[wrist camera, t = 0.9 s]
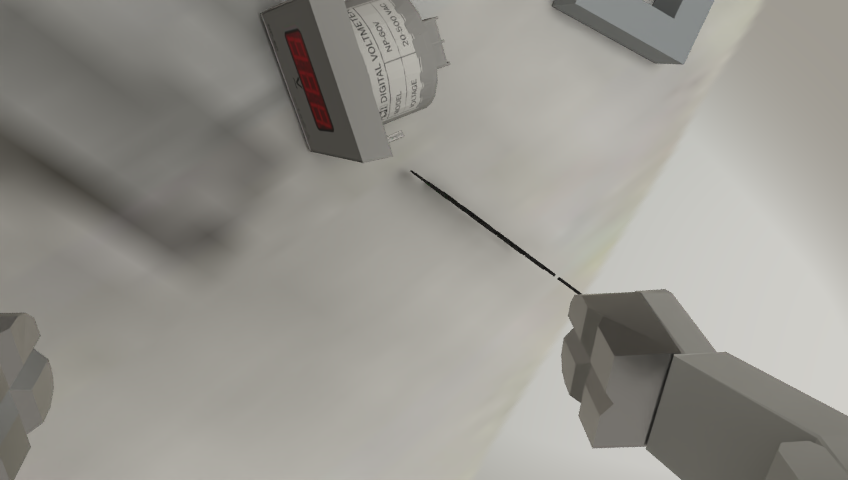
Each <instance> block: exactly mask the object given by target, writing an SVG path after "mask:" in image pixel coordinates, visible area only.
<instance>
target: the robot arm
mask: <svg viewBox="0 0 848 480" xmlns="http://www.w3.org/2000/svg"><path fill="white" fill-rule="evenodd" d="M568 317H569V319H570V321H571V323H572V325H573V327H574V328H573V329H572V330H571V331H570V332H569V333H568V334H567V335H566V336H565V337H564V341H563V347H562V354H561V358H562V373H563V377H564V381H565V385H566V387H567V390H568V392H569V395H570V396H572V397H573V398H575V399H576V400H577V401H579V402H580V403H581V406H580V411H579V418H580V421H581V423H582V425H583V427H584V430H585V432H586V434H587V437H588V439H589V441H590V443H591V446H592V447H593V448H614V447H644V446H646V450H648V451H649V452H650V453H651V454H652V455H653V456H655V457H656V458H657V459H658V460H659V461H660V462H662V463H663V464H664V465H665V466H666V467H667V468H669V469H670V470H671V471H672V472H673V473H674V474H676V475H677V476H678V477H679V478H680V479H681V480H848V416H847V415H844V414H843V413H841V412H839V411H837V410H835V409H833V408H831V407H830V406H827V405H826V404H824V403H821V402H820V401H818V400H816V399H814V398H812V397H811V396H809V395H807V394H805V393H803V392H801V391H799V390H797V389H795V388H793V387H791V386H790V385H788V384H786V383H784V382H782V381H780V380H778V379H776V378H774V377H773V376H771V375H769V374H767V373H765V372H763V371H761V370H759V369H757V368H755V367H753V366H752V365H750V364H748V363H746V362H744V361H742V360H740V359H738V358H736V357H734V356H733V355H731V354H729V353H727V352H716V351H715V349H714V348H713V347H712V345H711V344H710V343H709V341H708V340H707V339H706V337H705V336H704V335H703V333H702V332H701V331H700V330H699V328H698V327H697V326H696V324H695V323H694V322H693V320H692V319H691V318H690V316H689V315H688V314H687V312H686V311H685V310H684V308H683V307H682V306H681V305H680V303H679V302H678V301H677V299H676V298H675V297H674V295H673V294H672V293H671V292H669V291H667V290H665V289H661V290H646V291H635V292H628V293H627V292H625V293H603V294H580V295H574V297H573V299H572V301H571V303H570V308H569V313H568ZM40 336H41V335H40V333H39V330H38V327H37V325H36V322H35V319H34V317H32V316H30V315H29V314H27V313H0V480H14V479H15V477H16V475H17V473H18V471H19V469H20V467H21V465H22V463H23V461H24V459H25V457H26V455H27V453H28V451H29V449H30V447H31V446H30V443H29V440H28V437H27V434H28V433H29V432H31V431H32V430H34V429H35V428H36V427H38V426H39V425H41V424H42V423H43V422H44V420H45V417H46V415H47V413H48V411H49V409H50V406H51V400H52V395H53V389H54V386H53V374H52V370H51V367H50V363H49V360H48V359H47V358H46V357H44V356H43V355H42V354H40V353H39V352H38V351H37V350H35V349H34V346H35V345H36V343H37V341H38V340H39V338H40Z"/></svg>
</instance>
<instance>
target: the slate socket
mask: <svg viewBox="0 0 848 480" xmlns="http://www.w3.org/2000/svg"><path fill="white" fill-rule="evenodd" d="M713 2H714V0H655V1H654V4H653V6H652V5H650V4H648V3H646V2H645V1H643V0H555V1H554V3H553V5H552V6H553V7H554V8H556V9H558V10H560V11H562V12H563V13H565V14H567V15H569V16H571V17H572V18H574V19H576V20H578V21H580V22H582V23H583V24H585V25H587V26H589V27H591V28H592V29H594V30H596V31H598V32H600V33H601V34H603V35H605V36H607V37H609V38H611V39H612V40H614V41H616V42H618V43H620V44H621V45H623V46H625V47H627V48H629V49H630V50H632V51H634V52H636V53H638V54H639V55H641V56H643V57H645V58H647V59H649V60H650V61H652V62H654V63H661V64H684V63H685V61H686V59H687V56H688V54H689V52H690V50H691V48H692V46H693V44H694V42H695V40H696V38H697V36H698V33H699V31H700V29H701V27H702V25H703V23H704V21H705V19H706V17H707V15H708V12H709V10H710V8H711V6H712V4H713Z"/></svg>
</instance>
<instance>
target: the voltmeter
mask: <svg viewBox="0 0 848 480" xmlns="http://www.w3.org/2000/svg"><path fill="white" fill-rule="evenodd" d="M260 14H261V17H262V19H263V22H264V25H265V28H266V31H267V33H268V36H269V39H270V42H271V44H272V47H273V50H274V53H275V56H276V58H277V61H278V64H279V67H280V69H281V72H282V75H283V78H284V80H285V83H286V86H287V89H288V92H289V94H290V97H291V100H292V103H293V105H294V108H295V111H296V114H297V117H298V119H299V122H300V125H301V128H302V130H303V133H304V136H305V139H306V142H307V144H308V147H309V150H310V151H311V152H316V153H320V154H325V155H330V156H334V157H339V158H343V159H348V160H352V161H357V162H361V163H365V162H369V161H374V160H379V159H383V158H388V157H392V156H393V154H392V151H391V148H390V145H389V142H391V141H395V140H397V139H399V138H402V137H403V136H404V135H403V132H402V130H401V131H399V132H396V133H394V134H391V135H389V136H387V135H386V132H385V129H384V126H383V124H386V123H388V122H391V121H393V120H396V119H398V118H401V117H403V116H406V115H409V114H411V113H414V112H416V111H419V110H421V109H424V108H426V107H428V106H429V105H430V104H431V103H432V101H433V99H434V97H435V93H436V87H437V69H439V68H442V67H445V66H447V65H450V62H447V61H446V57H445V53H444V50H443V46H442V42H444V40H441V39H440V35H439V31H438V27H437V24H436V19H438V17H433V18H428V19H424V20H422V19H421V17H420V15H419V13H418V11H417V10H416V9H415V7H414V6H413V5H412V3H411V2H410V1H409V0H346V1H345V0H288V1H286V2H283V3H281V4H279V5H277V6H275V7H273V8H271V9H269V10H267V11H265V12H262V13H260ZM411 172H412V173H413V174H414V175H416V176H417V177H418V178H420V179H421V180H422V181H424V182H425V183H426V184H427V185H429V186H430V187H431V188H433V189H434V190H436V192H438V193H439V194H441V195H442V196H443V197H444V198H446V199H447V200H449V201H451V203H453V204H454V205H455V206H457V207H458V208H460V209H461V210H462V211H464V212H465V213H467V214H468V215H469V216H470V217H472V218H473V219H474V220H476V221H477V222H479V223H480V224H481V225H483V226H484V227H485V228H487V229H488V230H489V231H491V232H492V233H494V234H495V235H497V237H499V238H500V239H502V240H503V241H504V242H506V243H507V244H508V245H510V246H511V247H512V248H514V249H515V250H516V251H518V252H519V253H521V254H523V255H525V257H527V258H528V259H530V260H531V261H532V262H534V263H535V264H536V265H538V266H539V267H540V268H542V269H543V270H544V269H545V270H546V271H547V272H549V273H550V274H551V275H553V276H555V275H556V274H555V273H553V272H552V271H550V270H549V269H548V268H546V267H545V266H544V265H542V264H541V263H540V262H538V261H537V260H536V259H534V258H533V257H531V256H530V255H529V254H528V253H526V252H525V251H523V250H522V249H521V248H520V247H518V246H517V245H515V244H514V243H513V242H511V241H510V240H509V239H507V238H506V237H504V236H503V235H502V234H501V233H499V232H498V231H496V230H495V229H493V228H492V227H491V226H490V225H488V224H487V223H486V222H484V221H483V220H482V219H480V218H479V217H478V216H476V215H475V214H474V213H472V212H471V211H470V210H468V209H467V208H465V207H464V206H462V205H461V204H459V203H458V202H457V201H456V200H454V199H453V198H452V197H450V196H449V195H448V194H446V193H445V192H443V191H441V190H440V189H438V188H437V187H436V186H434V185H433V184H431V183H430V182H428V181H426V180H425V179H423V178H422V177H421V176H419V175H418V174H417V173H414V172H413V171H411ZM558 280H559V281H561V282H562V283H564V284H565V285H566V286H568V287H569V288H570V289H572V290H573V291H574V292H576V293H577V294H578V295H580V294H581V293H580V292H579V291H577V290H576V289H575V288H573V287H572V286H571V285H569V284H568V283H567V282H565V281H564V280H563V279H561V278H560V277H559V278H558Z"/></svg>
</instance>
